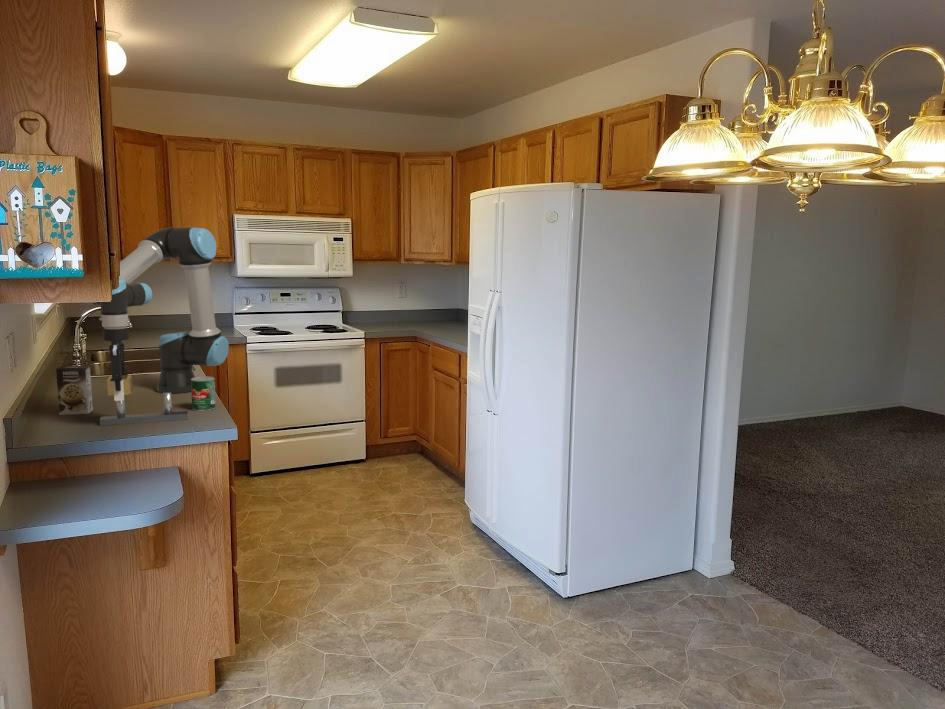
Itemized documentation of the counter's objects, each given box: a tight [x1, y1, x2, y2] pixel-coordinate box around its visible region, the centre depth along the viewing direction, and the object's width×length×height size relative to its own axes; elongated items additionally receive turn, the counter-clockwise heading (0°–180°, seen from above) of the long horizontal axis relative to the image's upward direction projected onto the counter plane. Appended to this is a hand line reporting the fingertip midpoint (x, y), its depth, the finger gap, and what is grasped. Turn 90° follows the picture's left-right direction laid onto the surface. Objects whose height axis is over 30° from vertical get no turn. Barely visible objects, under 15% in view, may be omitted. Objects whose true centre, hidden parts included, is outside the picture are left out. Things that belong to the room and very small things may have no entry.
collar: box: [106, 374, 134, 396], centre depth 219 cm, size 6×6×5 cm
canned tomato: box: [191, 376, 217, 412], centre depth 240 cm, size 8×8×11 cm
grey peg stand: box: [99, 392, 189, 427], centre depth 222 cm, size 4×26×9 cm, turn 111°
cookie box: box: [55, 365, 94, 416], centre depth 231 cm, size 9×6×16 cm
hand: (120, 397), depth 219 cm, fingers closed on collar, 6 cm apart
